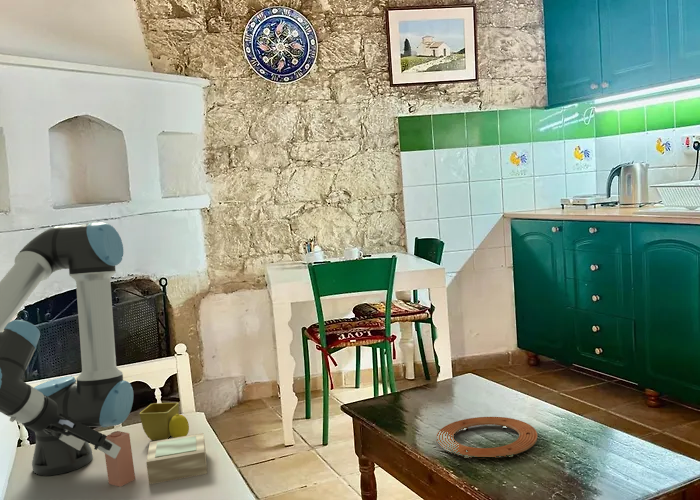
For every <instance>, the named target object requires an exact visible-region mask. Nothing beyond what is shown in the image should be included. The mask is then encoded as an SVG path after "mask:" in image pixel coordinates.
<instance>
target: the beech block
mask: <svg viewBox="0 0 700 500" xmlns="http://www.w3.org/2000/svg"><path fill="white" fill-rule="evenodd" d="M145 462H146V463H145V464H146V469H147V470H146V471H147V477H148V484H149V485H154V484H159V483H164V482H170V481H175V480H176V481H177V480H180V479H186V478H191V477H196V476H201V475H207V474H208V468H207V466H208V464H207V451H206V443H205V434H204V433H203V432H202V433H201V432H200V433H195V434H191V435H187V436H183V437H177V438H173V437H170V438H169V439H165V440H152V441H149V446H148V451H147V457H146V461H145Z"/></svg>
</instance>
